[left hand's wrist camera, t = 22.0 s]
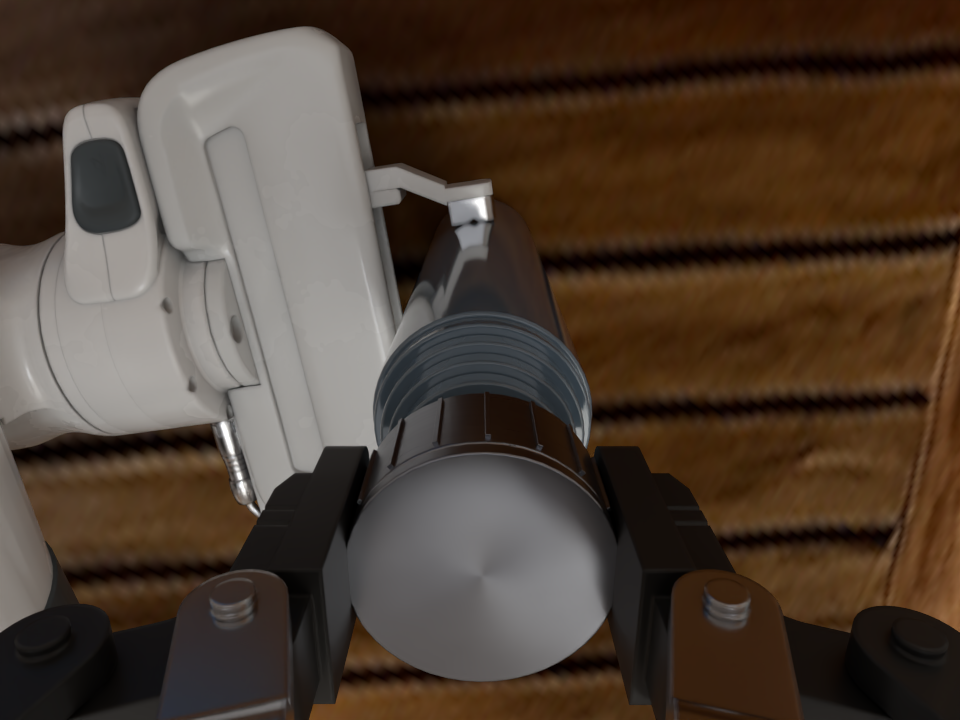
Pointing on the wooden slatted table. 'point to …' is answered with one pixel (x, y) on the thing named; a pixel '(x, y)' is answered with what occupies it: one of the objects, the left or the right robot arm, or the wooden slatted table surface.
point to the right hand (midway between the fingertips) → (504, 275)
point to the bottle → (483, 329)
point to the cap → (482, 540)
